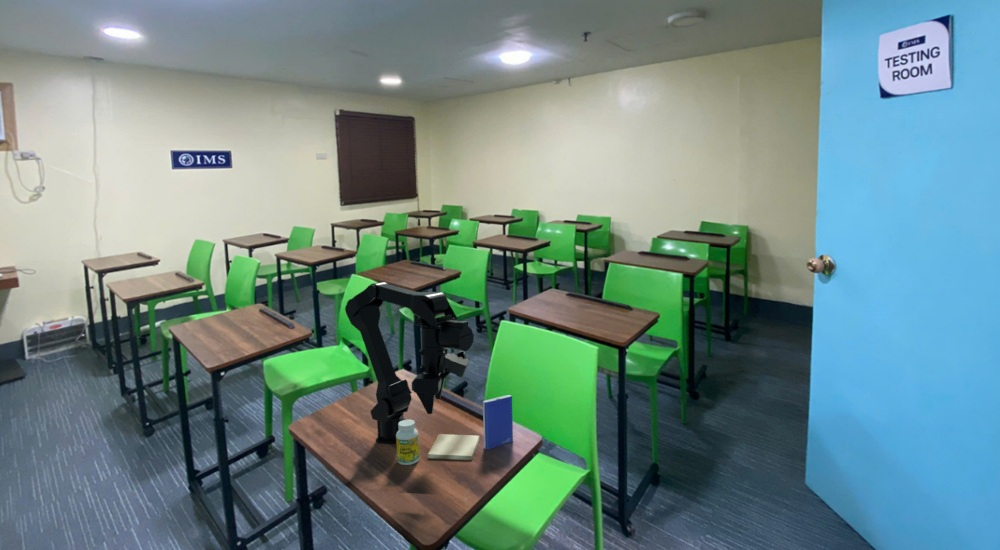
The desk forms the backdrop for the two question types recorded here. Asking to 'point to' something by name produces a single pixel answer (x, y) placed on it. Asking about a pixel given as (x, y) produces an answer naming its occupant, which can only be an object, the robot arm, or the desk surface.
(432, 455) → the birch board
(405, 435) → the supplement bottle
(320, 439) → the desk surface
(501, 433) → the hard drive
